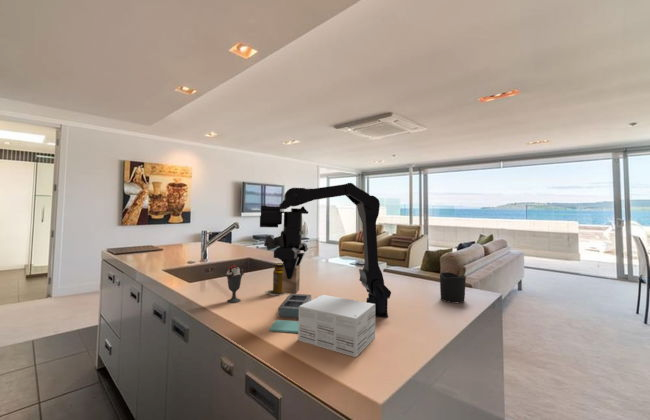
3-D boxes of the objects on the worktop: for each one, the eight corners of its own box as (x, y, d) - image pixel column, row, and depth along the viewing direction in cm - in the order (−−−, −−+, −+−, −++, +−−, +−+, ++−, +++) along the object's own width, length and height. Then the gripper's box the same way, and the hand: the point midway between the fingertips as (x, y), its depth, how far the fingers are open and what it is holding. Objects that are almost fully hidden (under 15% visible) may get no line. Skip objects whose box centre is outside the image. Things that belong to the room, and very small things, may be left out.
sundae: (220, 302, 102) (221, 261, 102) (232, 297, 108) (233, 259, 108) (234, 304, 99) (235, 263, 99) (246, 299, 105) (247, 260, 106)
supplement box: (375, 337, 75) (376, 303, 75) (356, 359, 64) (356, 318, 64) (322, 324, 84) (323, 293, 84) (297, 340, 72) (298, 305, 73)
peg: (299, 290, 89) (299, 265, 89) (295, 293, 85) (296, 267, 85) (286, 289, 90) (286, 264, 90) (282, 293, 85) (282, 267, 85)
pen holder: (461, 297, 114) (461, 273, 114) (468, 304, 105) (469, 278, 105) (437, 295, 116) (437, 271, 116) (442, 302, 107) (443, 276, 107)
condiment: (291, 293, 115) (291, 264, 115) (272, 296, 111) (272, 266, 111) (283, 289, 121) (284, 261, 121) (265, 291, 117) (265, 263, 117)
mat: (305, 323, 84) (305, 321, 84) (300, 333, 77) (300, 331, 77) (276, 321, 85) (276, 319, 85) (268, 330, 78) (269, 329, 78)
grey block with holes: (311, 302, 103) (311, 294, 103) (302, 318, 87) (302, 309, 87) (290, 301, 104) (290, 293, 104) (278, 317, 88) (278, 307, 88)
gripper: (277, 225, 98) (276, 270, 98) (257, 228, 79) (255, 282, 79) (308, 226, 96) (306, 271, 96) (294, 229, 78) (293, 285, 77)
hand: (291, 277), depth 87 cm, fingers closed on peg, 4 cm apart
